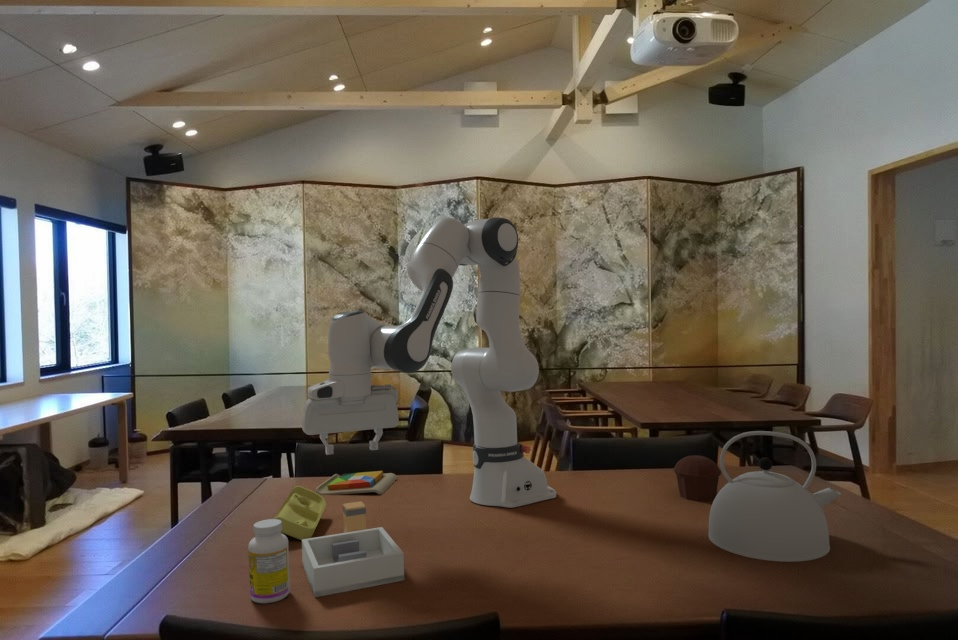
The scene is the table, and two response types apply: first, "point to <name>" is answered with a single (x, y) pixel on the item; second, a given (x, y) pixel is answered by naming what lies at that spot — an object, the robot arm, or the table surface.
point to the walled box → (351, 561)
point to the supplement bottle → (268, 562)
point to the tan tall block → (354, 516)
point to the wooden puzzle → (357, 483)
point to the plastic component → (301, 513)
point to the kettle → (770, 513)
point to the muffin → (697, 478)
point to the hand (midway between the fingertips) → (352, 451)
